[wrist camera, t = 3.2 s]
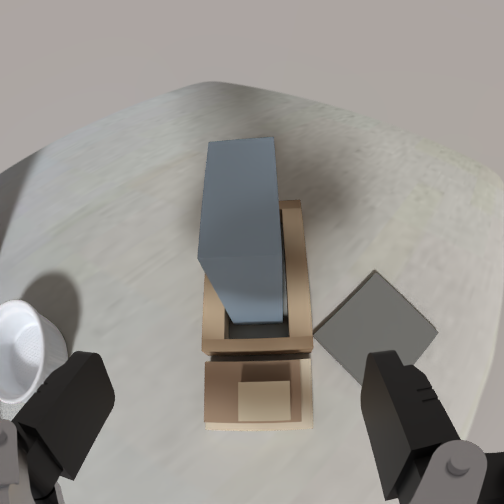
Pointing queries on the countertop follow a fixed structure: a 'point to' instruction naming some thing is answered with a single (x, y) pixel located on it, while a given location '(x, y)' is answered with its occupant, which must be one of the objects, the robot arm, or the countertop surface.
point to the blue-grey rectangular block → (243, 230)
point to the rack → (262, 353)
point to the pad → (375, 328)
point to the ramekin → (27, 350)
